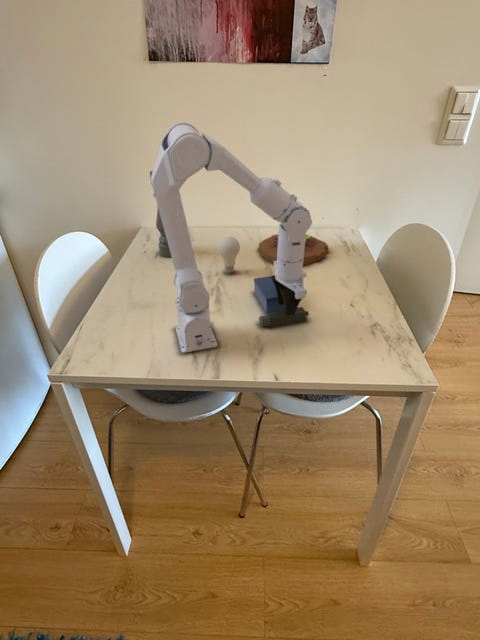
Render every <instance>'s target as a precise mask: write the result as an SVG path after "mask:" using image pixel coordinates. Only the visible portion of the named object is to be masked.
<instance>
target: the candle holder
mask: <svg viewBox="0 0 480 640" xmlns="http://www.w3.org/2000/svg"><path fill="white" fill-rule="evenodd" d="M152 172H153V170H151V171H149V178H150V180H151V175H152ZM150 184H151V185H152V183H151V182H150ZM152 195H153V197H154V198H155V194H154V193H153V194H152ZM156 206H157V209H156V210H157V212H156V220H155V227H156V229H157V231H158V232H159V238H158V248H159V249H158V251H159V255H160V256H161V257H164V258H172V256H171V253H170V249H169V245H168V242H167V238H166V234H165V231H164V227H163V223H162V220H161V216H160V212H159V209H158V205H157V204H156Z"/></svg>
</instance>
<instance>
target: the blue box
mask: <svg viewBox="0 0 480 640" xmlns="http://www.w3.org/2000/svg"><path fill="white" fill-rule="evenodd" d="M271 276H272V275H268V276H262V277H254V278H253V283H254V289H253V290H254V295H255V297H256V298H257V301H258V302H259V304H260V306H261V307H262V309H263V310H264V313H265V315H267V313H269V312H275V311H280V310H285V308H284V305H279V303H278V299H277V293H276V289H275V286H274V283H273V281H272V279H271Z"/></svg>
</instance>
